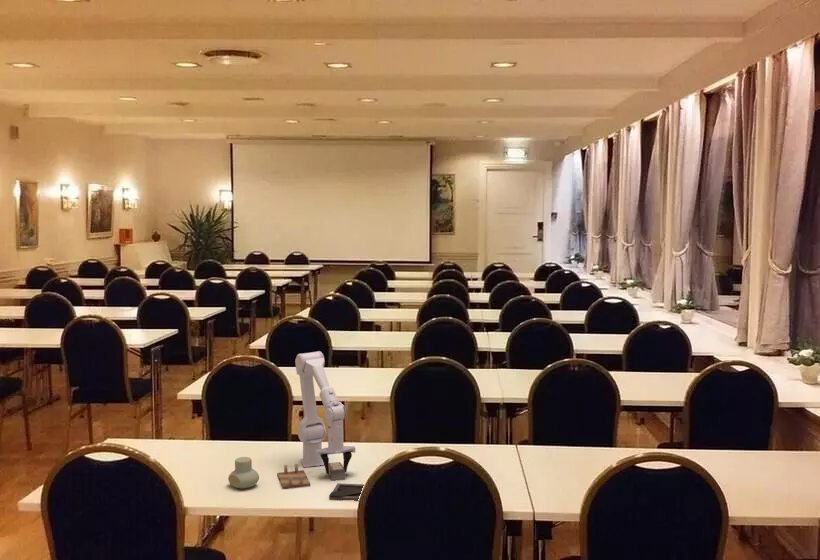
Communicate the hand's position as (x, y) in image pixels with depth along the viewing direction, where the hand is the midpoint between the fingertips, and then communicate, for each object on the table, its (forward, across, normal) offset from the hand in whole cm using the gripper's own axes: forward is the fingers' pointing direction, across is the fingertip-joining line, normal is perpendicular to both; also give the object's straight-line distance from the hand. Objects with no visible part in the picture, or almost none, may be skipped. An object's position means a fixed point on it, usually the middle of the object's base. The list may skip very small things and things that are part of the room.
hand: (336, 472), depth 298 cm
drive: (+2, 0, 0) cm, 2 cm away
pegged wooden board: (+1, -16, 0) cm, 16 cm away
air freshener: (+2, -34, 0) cm, 34 cm away
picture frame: (+2, +4, -20) cm, 21 cm away
